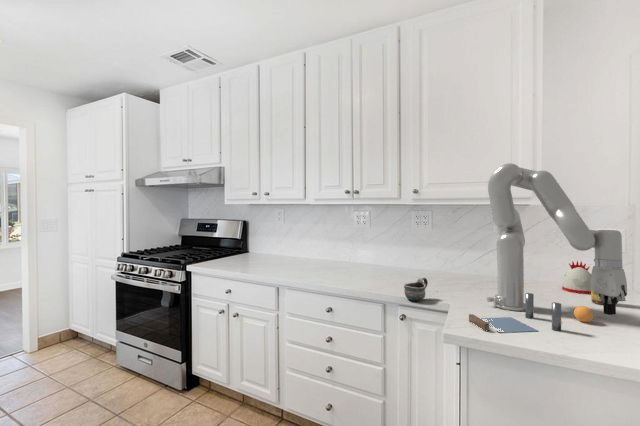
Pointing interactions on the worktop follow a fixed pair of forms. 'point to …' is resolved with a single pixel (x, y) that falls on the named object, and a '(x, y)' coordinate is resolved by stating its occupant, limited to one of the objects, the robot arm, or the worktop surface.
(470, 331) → the worktop surface
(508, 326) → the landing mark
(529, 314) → the base side post
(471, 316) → the wall
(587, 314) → the ball
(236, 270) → the worktop surface
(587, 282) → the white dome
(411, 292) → the mug
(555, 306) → the edge side post
